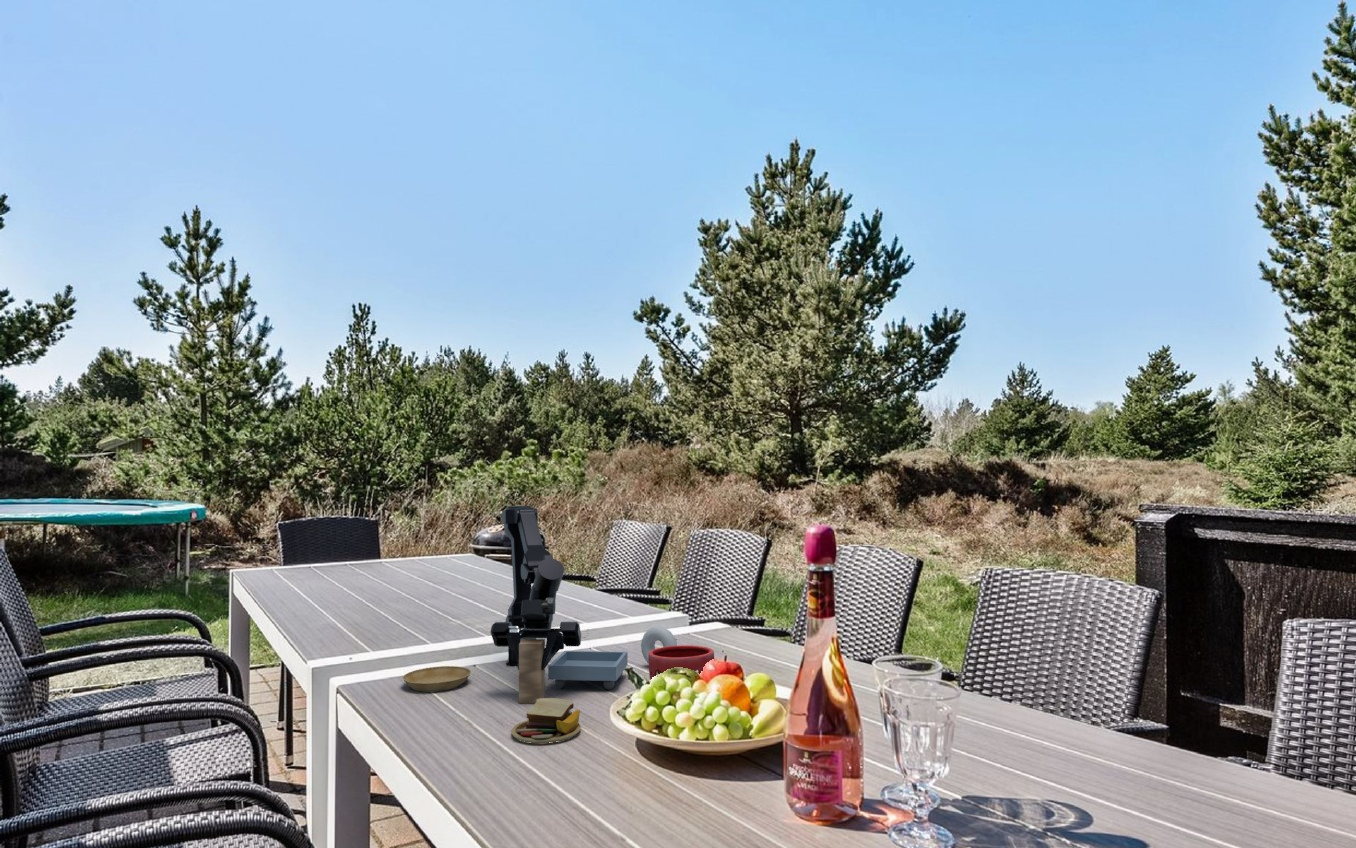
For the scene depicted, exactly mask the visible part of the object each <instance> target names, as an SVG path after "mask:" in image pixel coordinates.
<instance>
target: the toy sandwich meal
mask: <svg viewBox="0 0 1356 848" xmlns="http://www.w3.org/2000/svg"><path fill="white" fill-rule="evenodd" d="M574 705H575V704H574V701H572V700H568V699H564V698H558V697H557V698H555V697H544V698H541V699H537V700H536V703H533V705H532V706H531V707H530V708H529V710H528V711H526V719H527V720H524V721H521V722H519V723H517V724H516V725H514V726H513V727H512V728H511V731H510V733H511V735H512V736H513V737H514V738H515V740H517V739H518V740H517V741H519V740H521V741H525V742H531V743H549V742H556V741H562V742H564V741H563V740H566V739H568V740H571V739H573V738H574V737H576V735H577V734H578V733H579V732H580V731H581V728H582V725H581V724H580V723H579V720H580V714H581V713H580V712H581V711H580V710H579V709H576V710H574V711H573V712H572V711H571V710H572V709H574V708H575V707H574ZM573 736H574V737H573ZM572 737H573V738H572ZM570 738H571V739H570ZM521 741H520V742H521ZM566 741H567V740H566Z"/></svg>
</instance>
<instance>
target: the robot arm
mask: <svg viewBox="0 0 1356 848" xmlns="http://www.w3.org/2000/svg"><path fill="white" fill-rule="evenodd" d="M538 511H539V509H538V508H534V507H532V506H531V505H507V506H506V508H505V509H503V510H501V524H502V525H503V529H504V533H505V534H506V536H507V537H508V538H509V540H510V542H511V561H512V564H511V566H512V567H511V568H512V582H513V586H512V587H513V599H512V601H511V604H510V605H509V607H508V609H507V615H506V616H505V617H506V618H505V621H495V622H494V623H493V624H491V628H490V636H491V637H492V638H491V639H492V642H493V644H494V646H496V648H497V647H503V648H505V647H508V657H507V661H506V663H505V665H506V666H508V665H509V666H517V670H518V671H519V643H520V642H521V641H522V640H523V639H546V641H545V650H544V654H543V658H542V664H541V670H544V669H545V670H546V667H547V666H548V665H549V663H550V662H551V661H552V659H553V658H554V656H555V655H556V654H557V653H558V652H559V651H560V650H564V649H565V647H580V646H581V643H582V632H581V627H580V623H579V622H578V621H561V622H560V623H559V628H558V627H557V628H556V627H555V628H552V623H553V620H554V615H555V613H556V600H557V599H556V597H557V592H558V591H559V589H560V585H561V582H562V580H563V576H564V574H565V567H564V565H563V563H562V562H561V561H560V560H558V559H555V558H554V556H553V554H552V553H551V552H550V551H548V550H547V549H546V548H545V547H544V544H543V540H542V536H541V532H540V529H539V524H538V523H539V517H538V516H539V515H538V514H539V513H538ZM532 584H533V585H532Z"/></svg>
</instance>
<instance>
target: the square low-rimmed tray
mask: <svg viewBox="0 0 1356 848" xmlns="http://www.w3.org/2000/svg"><path fill="white" fill-rule="evenodd" d="M628 657H629V656H628V651H608V650H607V651H603V650H601V651H599V650H596V651H595V650H564V651H563V652H561V654H560V655H558V656H557V657H556V658H555V659H554V660H553V661H551V663H550V664H548V665H547V666H548V667H547V671H548V672H547V674H548V675H547V679H548V680H550V681H551V680H552V681H553V680H554V682H553V685H554V687H555V688H557V689H558V690H560V689H561V690H562V689H563V688H564V687H565V686H566V681H590V682H591V681H593V682H594V681H597V682H598V681H599V682H603V688H604V689H605V690H608V691H610V690H612V689H613V688H614V687H615V682H617V680H618V679H619V678H620V677H622V676H623V672H624V670H625V669H626V668H627V666H628V664H629V663H628V661H629V659H628Z"/></svg>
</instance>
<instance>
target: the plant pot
mask: <svg viewBox="0 0 1356 848" xmlns="http://www.w3.org/2000/svg"><path fill="white" fill-rule="evenodd" d="M712 659H714V660H715V651H714V650H713V649H712V648H710V647H707V646H701V645H692V644H691V645H687V644H686V645H684V644H683V645H681V644H680V645H677V646H667V647H663V646H662V647H657V648H655V649H654V650H652V651H650V652H649V654H648V662H649V664H648V672H649V673H648V674H649V679H650V680H651V679H652V677H654V676H656V675H657V676H658V674H660V673H663V672H664V671H666V670H667V669H671V668H674V667H683V668H688V669H691V670H694V671H696V672H697V673H699V674H700V673H701V671H703V667H704V666H705V664H706V663H707V662H709V661H710V660H712ZM650 680H649V681H650Z"/></svg>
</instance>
